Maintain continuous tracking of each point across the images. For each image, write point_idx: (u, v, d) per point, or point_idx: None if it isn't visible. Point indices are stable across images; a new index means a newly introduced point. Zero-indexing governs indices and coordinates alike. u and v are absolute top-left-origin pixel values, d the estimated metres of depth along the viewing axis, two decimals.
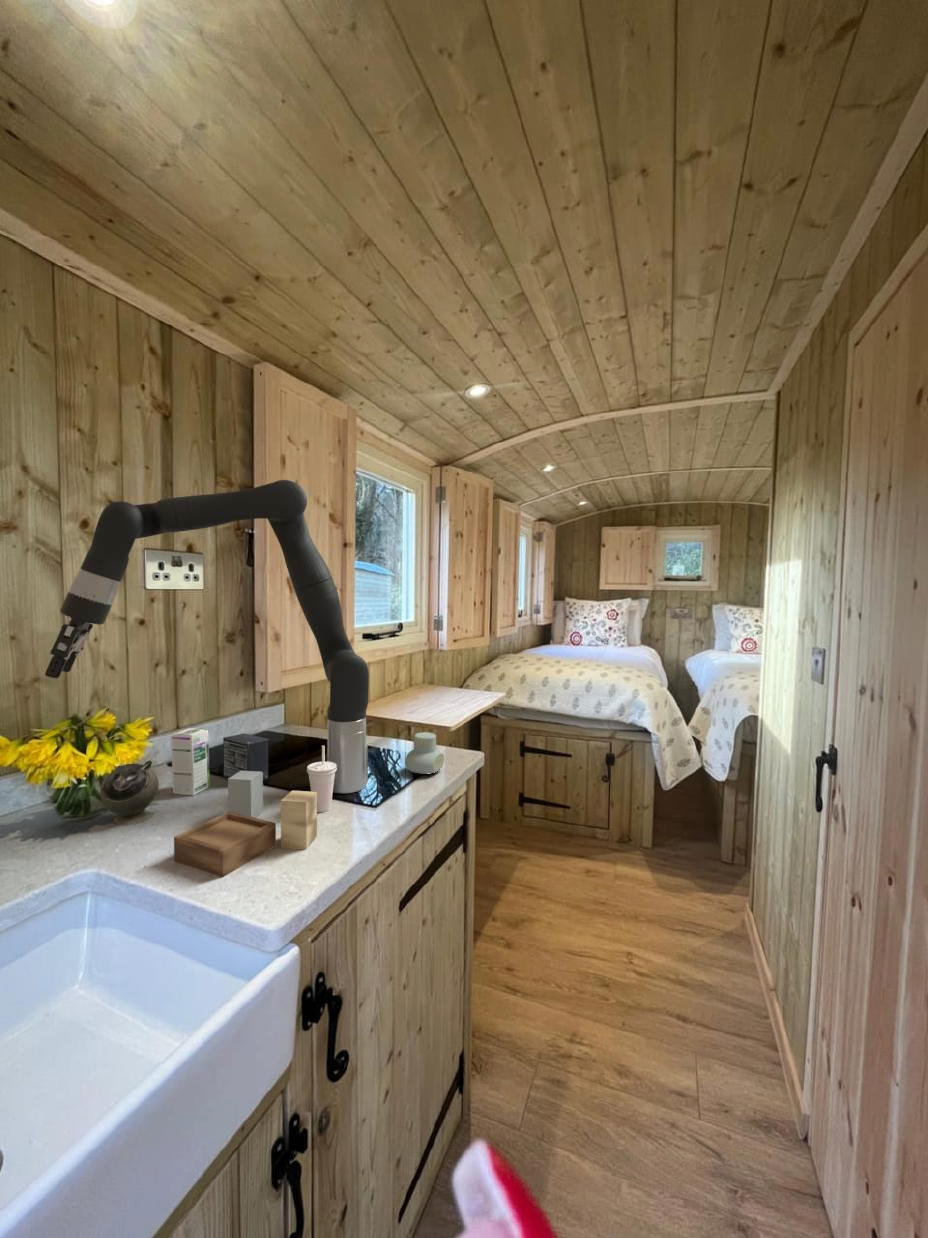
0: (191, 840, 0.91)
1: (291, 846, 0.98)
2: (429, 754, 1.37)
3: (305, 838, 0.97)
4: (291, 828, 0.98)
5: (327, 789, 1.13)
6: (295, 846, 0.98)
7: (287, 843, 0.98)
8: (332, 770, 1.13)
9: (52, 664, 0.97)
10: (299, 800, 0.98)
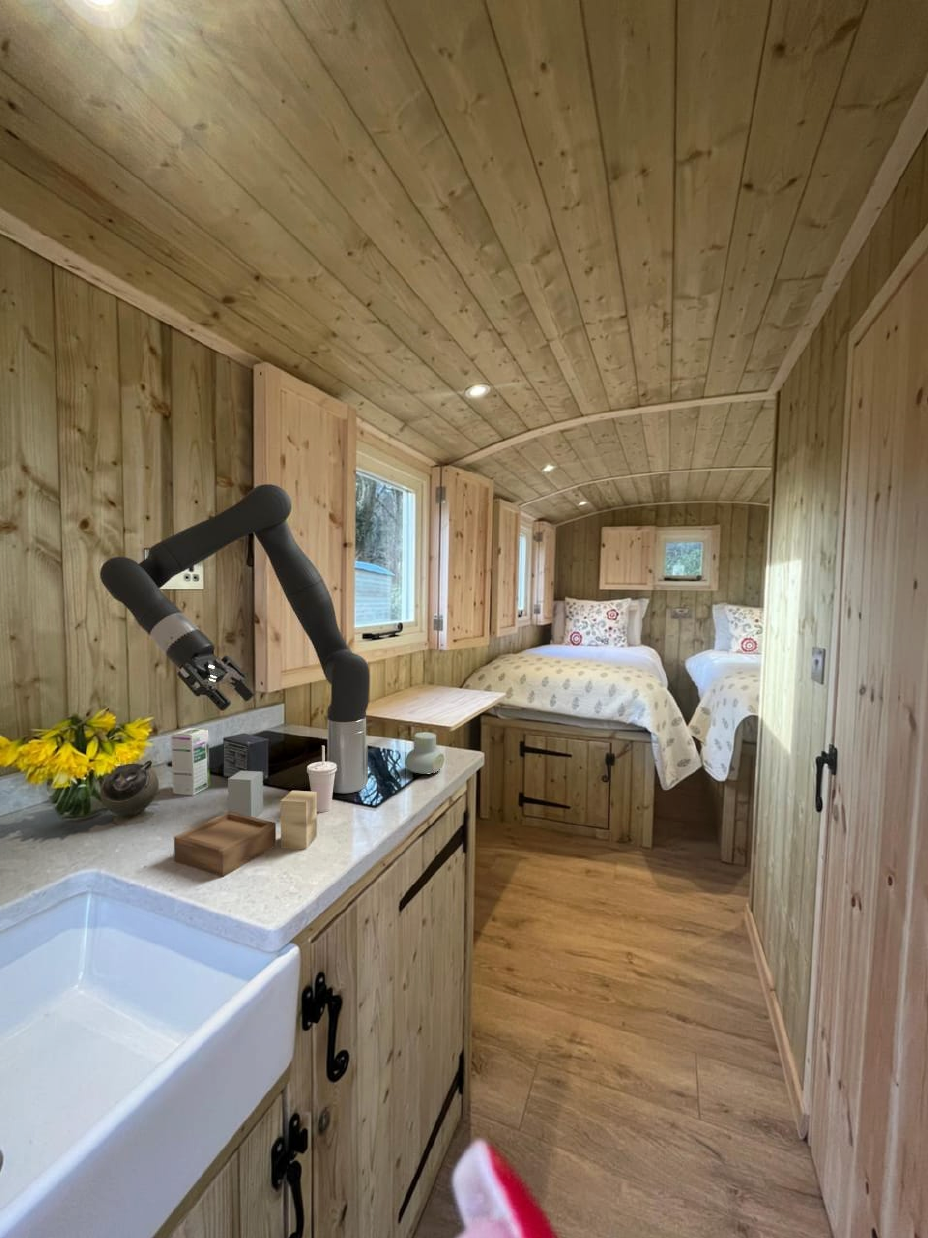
0: (191, 840, 0.91)
1: (291, 846, 0.98)
2: (429, 754, 1.37)
3: (305, 838, 0.97)
4: (291, 828, 0.98)
5: (327, 789, 1.13)
6: (295, 846, 0.98)
7: (287, 843, 0.98)
8: (332, 770, 1.13)
9: (212, 700, 0.95)
10: (299, 800, 0.98)
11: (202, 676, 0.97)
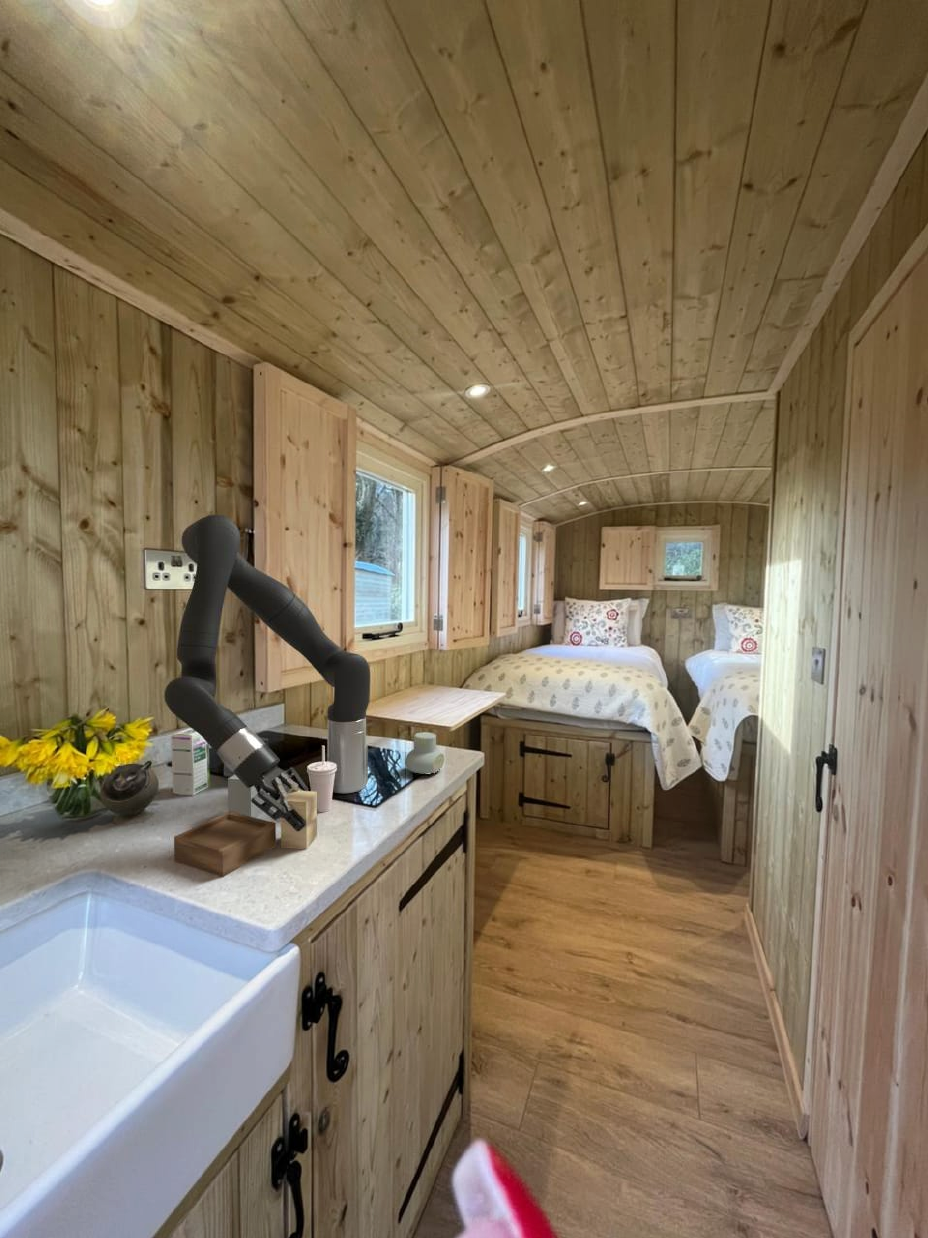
0: (191, 840, 0.91)
1: (291, 846, 0.98)
2: (428, 754, 1.37)
3: (305, 838, 0.97)
4: (291, 827, 0.98)
5: (327, 789, 1.13)
6: (295, 846, 0.98)
7: (287, 843, 0.98)
8: (332, 770, 1.13)
9: (289, 822, 0.96)
10: (299, 800, 0.98)
11: (273, 796, 0.98)
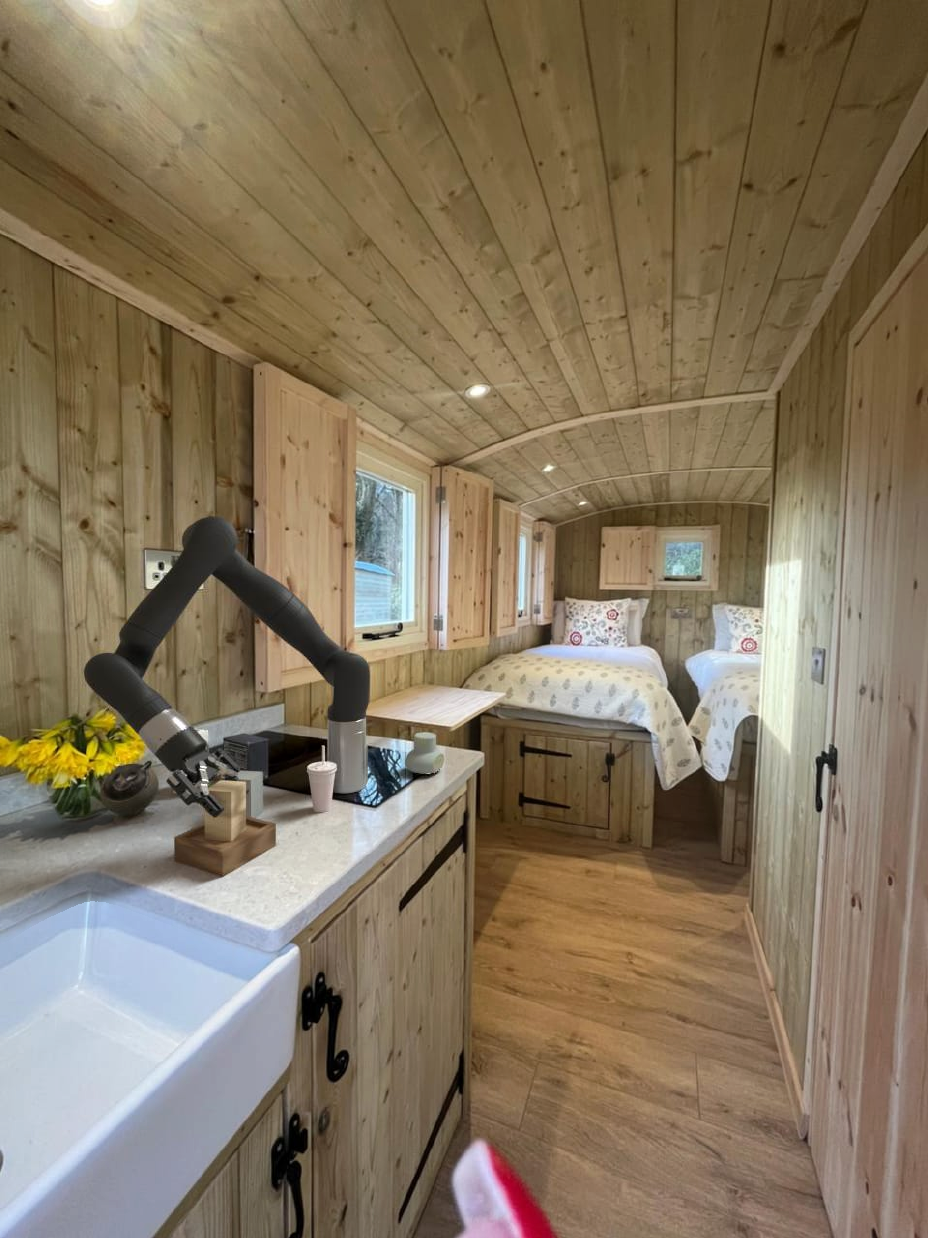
0: (191, 840, 0.91)
1: (215, 838, 0.93)
2: (428, 754, 1.37)
3: (230, 830, 0.93)
4: (216, 819, 0.93)
5: (327, 789, 1.13)
6: (219, 838, 0.93)
7: (211, 835, 0.93)
8: (332, 770, 1.13)
9: (204, 807, 0.90)
10: (224, 790, 0.93)
11: (193, 779, 0.92)
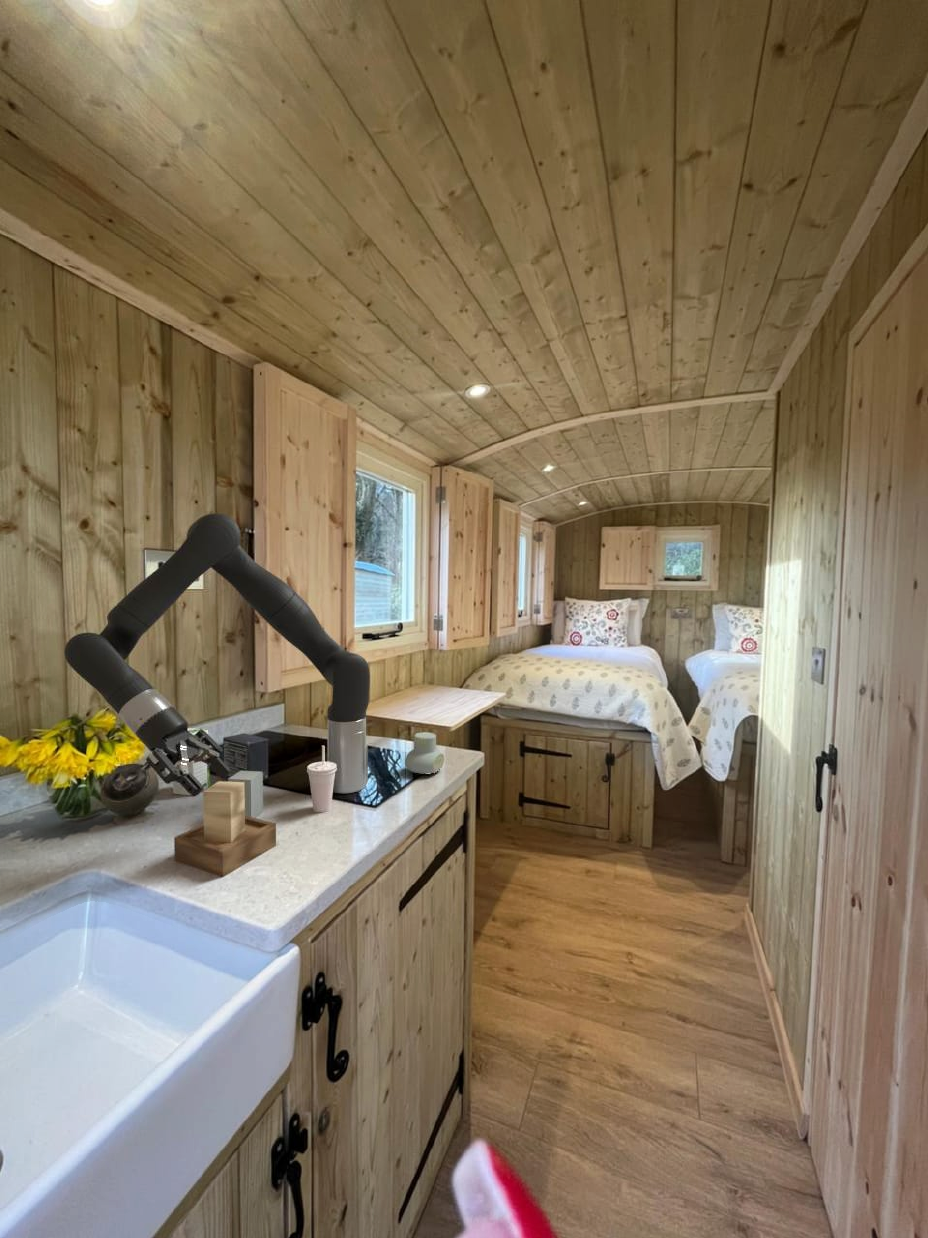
0: (191, 840, 0.91)
1: (215, 839, 0.93)
2: (428, 754, 1.37)
3: (230, 830, 0.92)
4: (215, 820, 0.92)
5: (327, 789, 1.13)
6: (219, 839, 0.93)
7: (211, 836, 0.93)
8: (332, 770, 1.13)
9: (184, 786, 0.90)
10: (223, 791, 0.93)
11: (173, 759, 0.92)
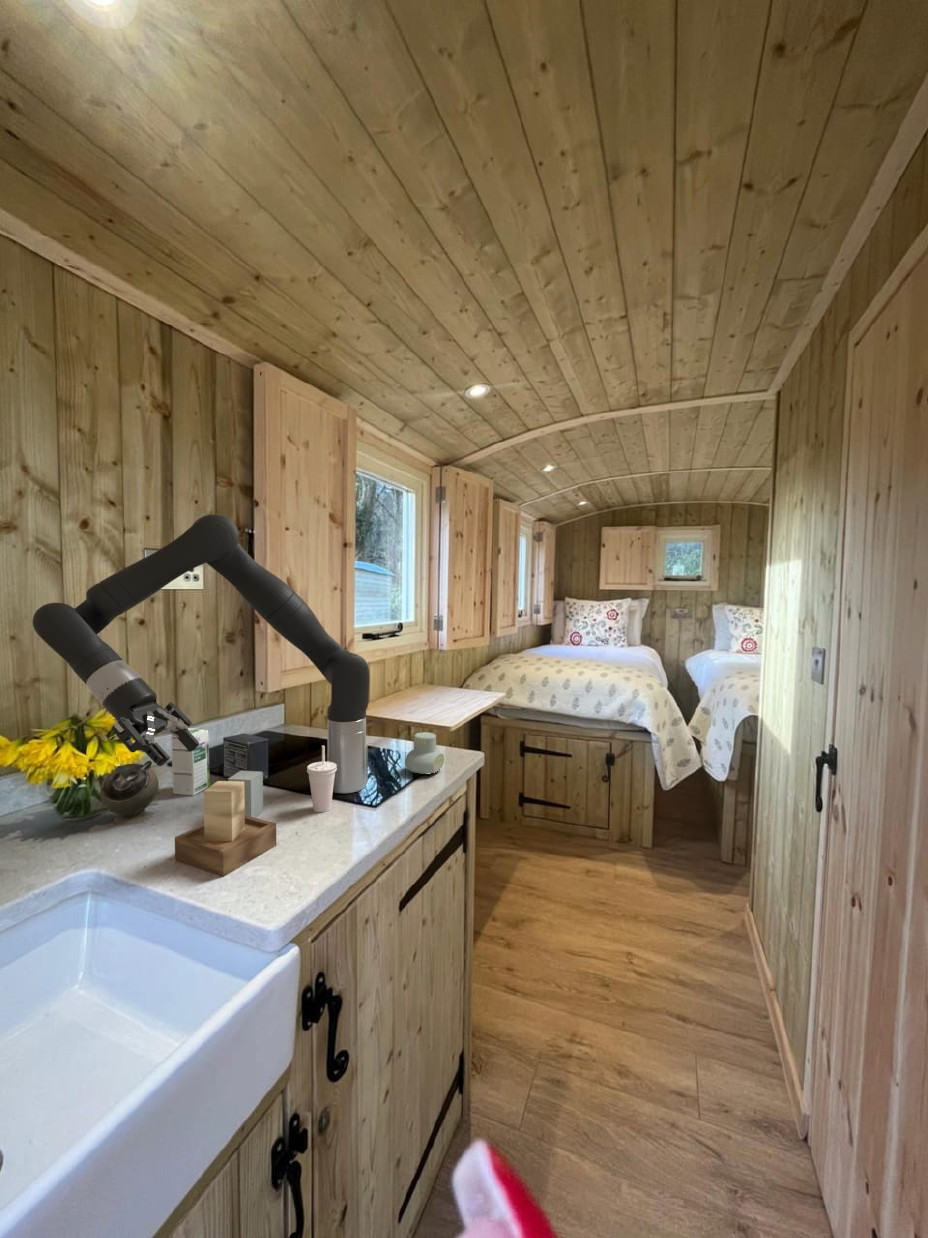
0: (192, 840, 0.91)
1: (215, 839, 0.93)
2: (428, 754, 1.37)
3: (230, 830, 0.93)
4: (215, 819, 0.93)
5: (327, 789, 1.13)
6: (220, 838, 0.93)
7: (211, 836, 0.93)
8: (332, 770, 1.13)
9: (149, 755, 0.90)
10: (223, 790, 0.93)
11: (140, 729, 0.93)
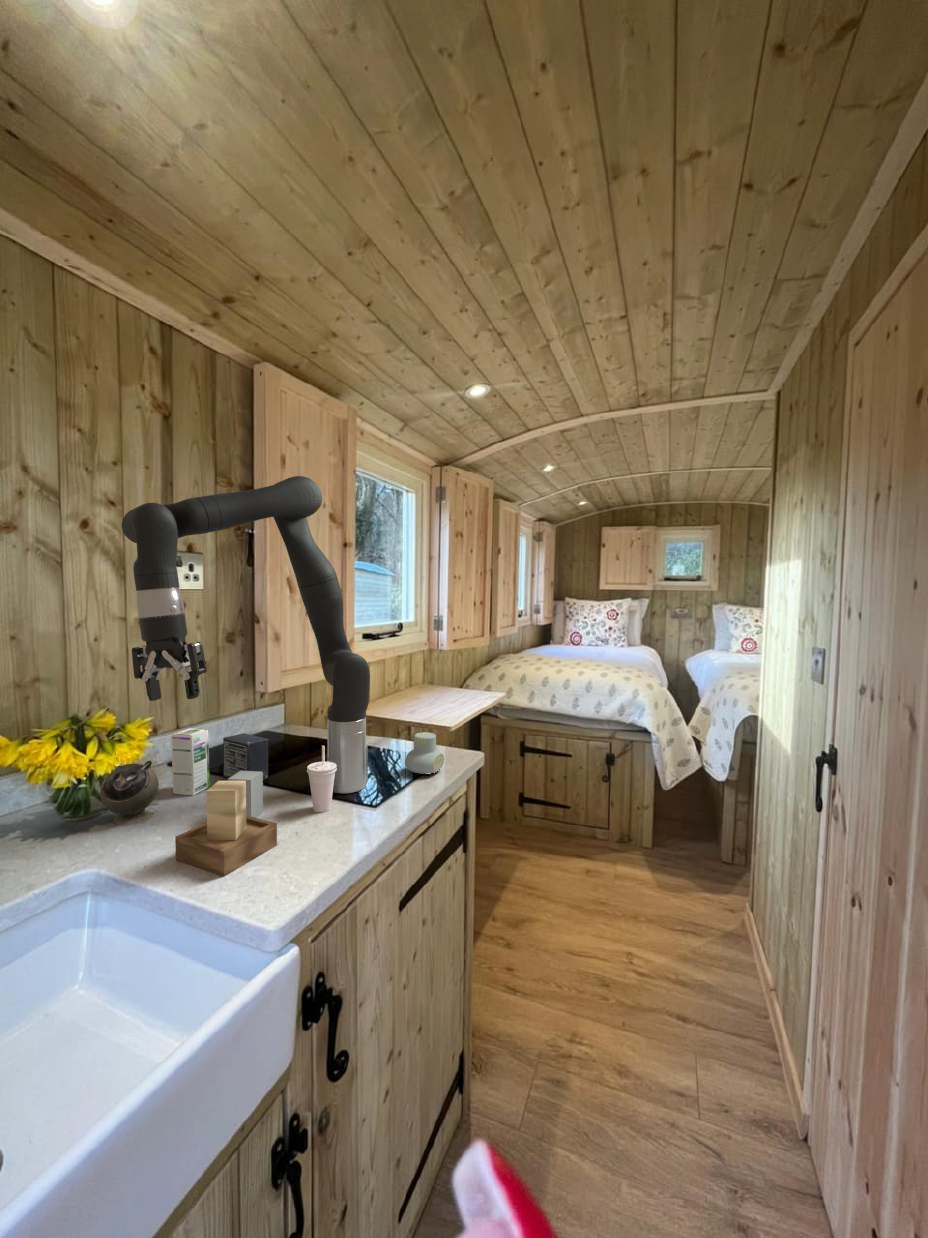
0: (192, 840, 0.91)
1: (218, 838, 0.93)
2: (428, 754, 1.37)
3: (234, 828, 0.93)
4: (219, 819, 0.93)
5: (327, 789, 1.13)
6: (223, 838, 0.93)
7: (214, 835, 0.93)
8: (332, 770, 1.13)
9: (193, 685, 0.96)
10: (227, 789, 0.93)
11: (180, 658, 0.97)
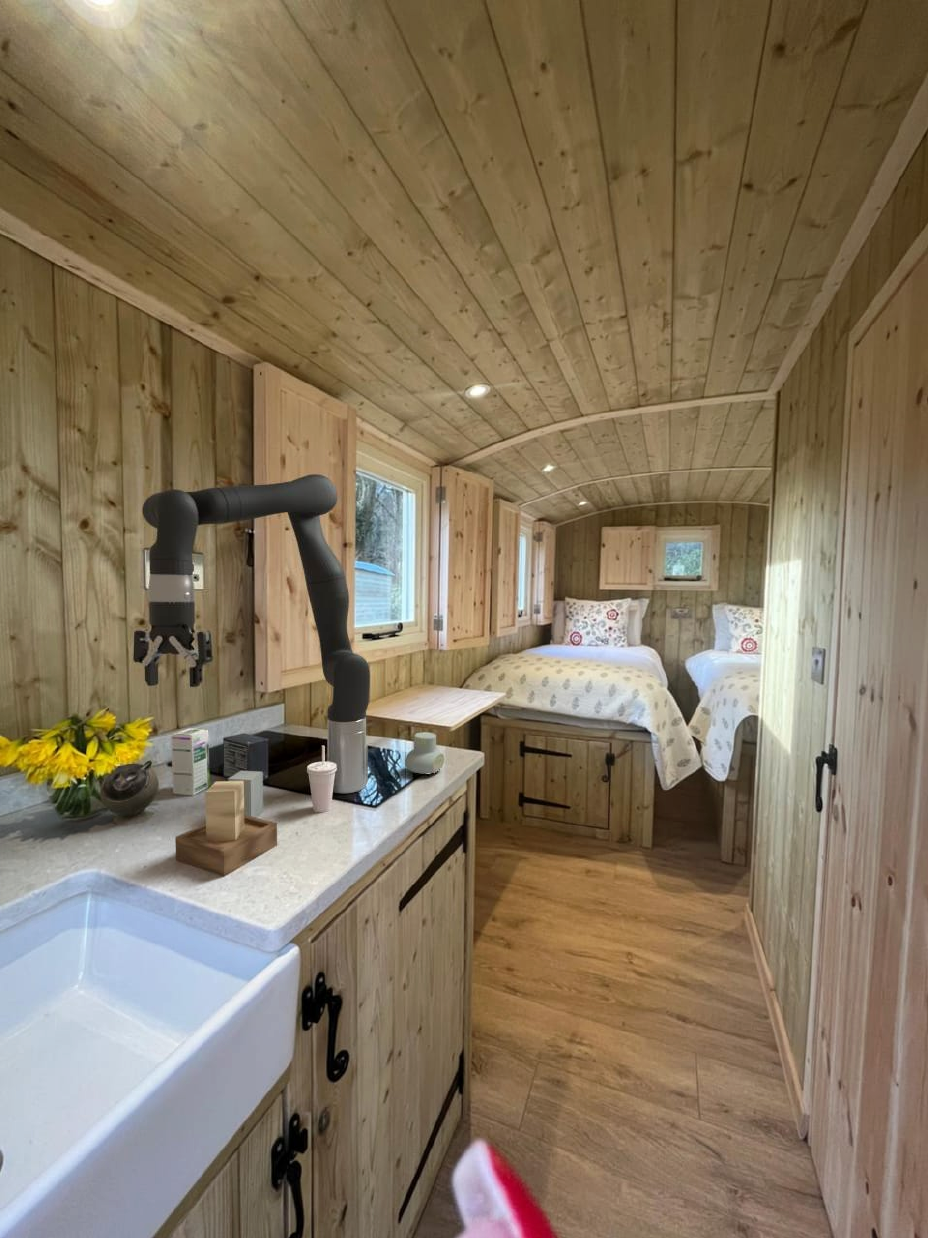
0: (192, 840, 0.91)
1: (218, 839, 0.93)
2: (428, 754, 1.37)
3: (234, 829, 0.93)
4: (218, 819, 0.93)
5: (327, 789, 1.13)
6: (222, 838, 0.93)
7: (213, 836, 0.93)
8: (332, 770, 1.13)
9: (198, 673, 0.97)
10: (226, 790, 0.93)
11: (187, 645, 0.97)
